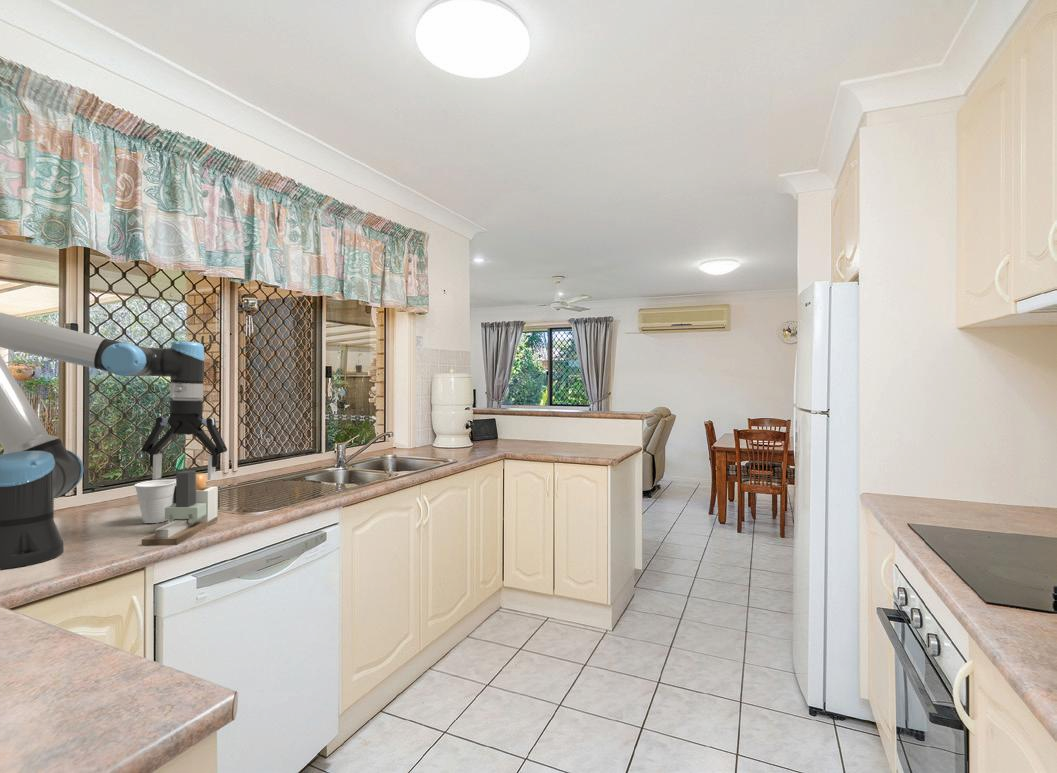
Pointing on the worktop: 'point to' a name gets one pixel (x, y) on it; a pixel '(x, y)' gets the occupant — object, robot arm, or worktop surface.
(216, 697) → the worktop surface
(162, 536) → the track
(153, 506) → the cup
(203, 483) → the button
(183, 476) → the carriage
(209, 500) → the cabinet
